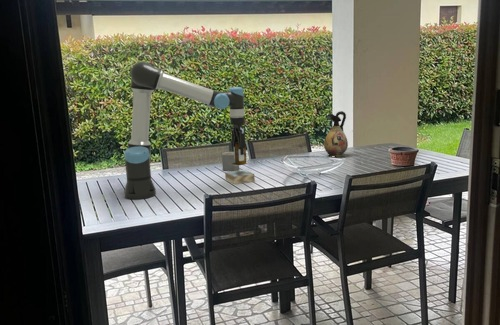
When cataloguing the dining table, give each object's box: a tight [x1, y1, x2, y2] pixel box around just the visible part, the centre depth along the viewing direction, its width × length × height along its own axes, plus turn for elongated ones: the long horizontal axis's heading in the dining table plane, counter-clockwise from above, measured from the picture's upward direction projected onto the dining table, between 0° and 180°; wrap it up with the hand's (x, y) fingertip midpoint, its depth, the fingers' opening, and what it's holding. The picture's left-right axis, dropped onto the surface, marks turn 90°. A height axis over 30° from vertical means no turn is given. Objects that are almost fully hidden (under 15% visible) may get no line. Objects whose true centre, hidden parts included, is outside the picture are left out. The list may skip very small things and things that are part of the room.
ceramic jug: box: [323, 110, 349, 158], centre depth 299 cm, size 17×15×30 cm
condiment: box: [229, 142, 250, 167], centre depth 243 cm, size 7×8×12 cm
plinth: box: [224, 169, 255, 185], centre depth 246 cm, size 12×12×4 cm
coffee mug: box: [221, 151, 240, 172], centre depth 274 cm, size 13×10×10 cm
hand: (239, 159), depth 244 cm, fingers closed on condiment, 6 cm apart
